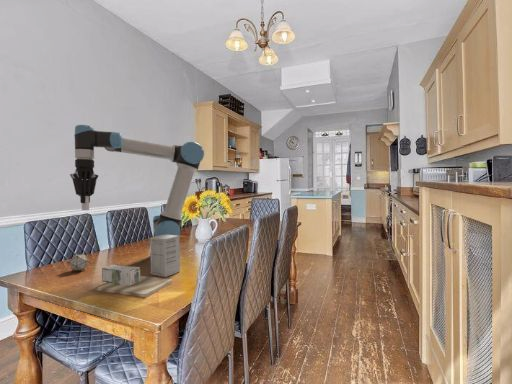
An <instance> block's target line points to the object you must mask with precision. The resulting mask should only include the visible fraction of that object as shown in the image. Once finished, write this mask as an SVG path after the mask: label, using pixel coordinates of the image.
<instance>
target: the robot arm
mask: <svg viewBox="0 0 512 384" xmlns="http://www.w3.org/2000/svg"><path fill="white" fill-rule="evenodd" d="M122 135H123V134H122V133H121V132H115V131H104V130H103V131H101V130H95V129H94V127H93V126H91V125H88V124H87V125H86V124H77V125H76V126H75V127H74V157H75V160H74V167H75V171H74V172H73V173H70V174H69V176H70V178H71V179H72V183H73V187H74V191H75V195H76V196H79V198H80V204H81V211H90V203H91V196H93V195H94V193H95V190H96V184H97V180H98V178H99V175H98V174H96V173H95V171H94V168H95V160H94V159H95V148H103V149H105V150H106V151H108V152H115V153H116V152H117V153H124V154H130V155H136V156H144V157H149V158H156V159H163V160H169V161H170V162H172V163H175V165H176V166H177V170H176V171H175V175H174V180H173V183H172V185H171V188H170V192H169V196H168V198H167V201H166V204H165V207H164V211H163V212H160V214H159V215H155V216H153V218H152V219H153V220H152V222H153V224H152V225H153V229H152V230H153V235H152V237H155V236H160V235H165V234H166V235H176V236H179V237H180V233H181V225H182V222H183V218H182V212H183V209H184V205H185V203H186V199H187V196H188V193H189V189H190V187H191V184H192V180H193V177H194V174H195V173H196V172H197V171H198V170H199V168H200V163H201V162H202V161H203V159H204V157H205V150H204V148H203V146H202V145H201V144H200V143H198V142H196V141H187V142H185V143H184V144H182V145H175V144H174V145H172V146H171V145H166V144H165V145H164V144H159V143H154V142H148V141H147V142H146V141H143V140H142V141H141V140H134V139H129V138H125V137H124V138H123V136H122ZM149 256H150V258H151V251H150V252H149Z"/></svg>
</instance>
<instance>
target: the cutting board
mask: <svg viewBox="0 0 512 384" xmlns="http://www.w3.org/2000/svg"><path fill="white" fill-rule="evenodd" d="M172 283H173V279H170V278H164V277H153V276H144V275H140V281H139V282H137V283H135V284H133V285H130V286H127V285H121V284H115V283H108V282H106V283H105V284H103V285H100V286H97V292H98V291H99V292H106V293H113V294H121V295H124V296H134V297H138V298H139V297H140V298H144V299H145V298H148V297H150V296H151V295H153V294H155V293H157V292H158V291H160V290H162V289H164V288H165V287H167V286H169V285H170V284H172Z"/></svg>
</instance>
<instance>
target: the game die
mask: <svg viewBox="0 0 512 384" xmlns="http://www.w3.org/2000/svg"><path fill="white" fill-rule="evenodd" d="M86 254H87V252H84V254H80V253H79V254H75V253H73V256H72V257H71V259H70V260H69V261H66V263H67V264H69V266H70V268H71V273H73V272H74V271H83V272H85V271H86V270H85V269H86V267H87V266H88V264H89V263H91V261H89V259H88V257H87V255H86Z"/></svg>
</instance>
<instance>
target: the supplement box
mask: <svg viewBox="0 0 512 384" xmlns="http://www.w3.org/2000/svg"><path fill="white" fill-rule="evenodd" d="M149 241H150V243H149V244H150V246H149V247H150V248H149V249H150V252H151V257H150V275H154V276H157V277H161V278H168V277H169V276H172V275H174V274H177V272H178V273H180V272H181V263H180V262H181V257H180V255H181V254H180V251H181V250H180V244H181V242H180V235H179V236H176V235H166V234H165V235H160V236H155V237H153V236H151V237H150V238H149Z"/></svg>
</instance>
